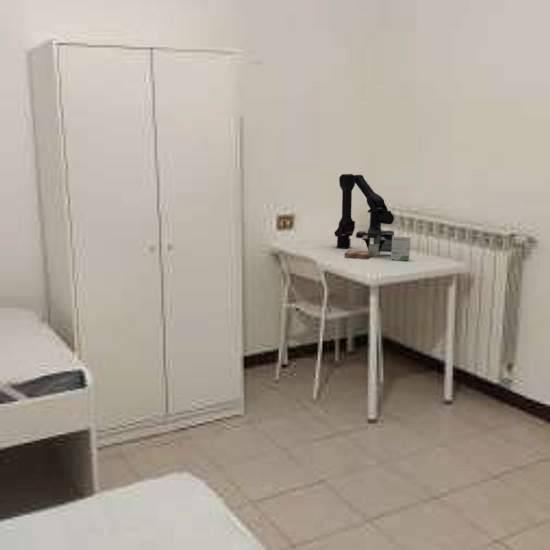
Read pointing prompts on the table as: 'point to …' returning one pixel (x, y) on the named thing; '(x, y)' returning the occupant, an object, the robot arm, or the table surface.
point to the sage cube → (374, 249)
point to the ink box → (400, 248)
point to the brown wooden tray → (358, 254)
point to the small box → (387, 244)
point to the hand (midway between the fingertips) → (374, 252)
